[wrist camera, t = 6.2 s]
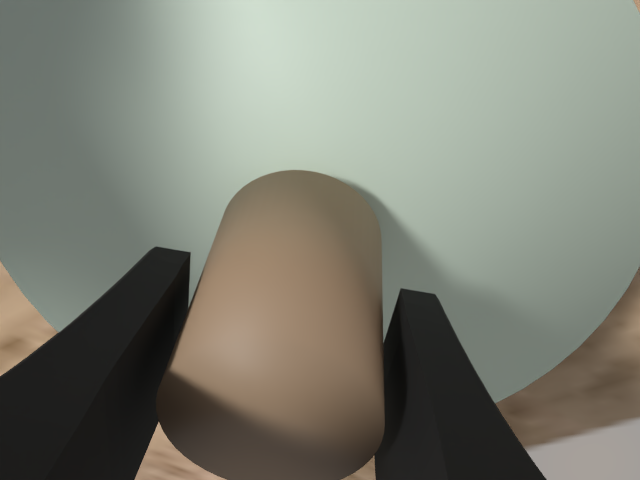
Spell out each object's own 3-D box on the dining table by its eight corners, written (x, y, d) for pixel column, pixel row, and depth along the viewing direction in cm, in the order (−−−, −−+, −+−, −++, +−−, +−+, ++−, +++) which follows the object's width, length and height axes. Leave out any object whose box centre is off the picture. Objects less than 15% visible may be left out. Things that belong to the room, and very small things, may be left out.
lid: (15, 363, 17) (-125, 578, 12) (-81, -290, 9) (-598, -405, 4) (502, 453, 18) (549, 688, 13) (822, -79, 10) (1258, 31, 5)
